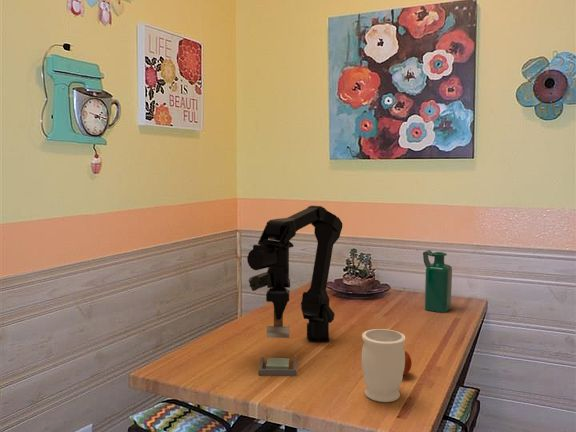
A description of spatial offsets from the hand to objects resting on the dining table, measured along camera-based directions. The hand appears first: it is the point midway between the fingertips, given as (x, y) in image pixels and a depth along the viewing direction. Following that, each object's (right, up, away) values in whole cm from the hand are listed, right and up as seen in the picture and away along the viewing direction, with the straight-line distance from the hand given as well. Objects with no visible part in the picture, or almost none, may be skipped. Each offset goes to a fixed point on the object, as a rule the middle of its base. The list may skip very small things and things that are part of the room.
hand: (278, 317), depth 153 cm
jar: (+26, -15, -23) cm, 37 cm away
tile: (0, -13, -6) cm, 14 cm away
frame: (0, -13, -7) cm, 14 cm away
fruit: (+32, -13, -11) cm, 36 cm away
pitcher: (+59, -6, +50) cm, 78 cm away
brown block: (0, -5, 0) cm, 5 cm away
